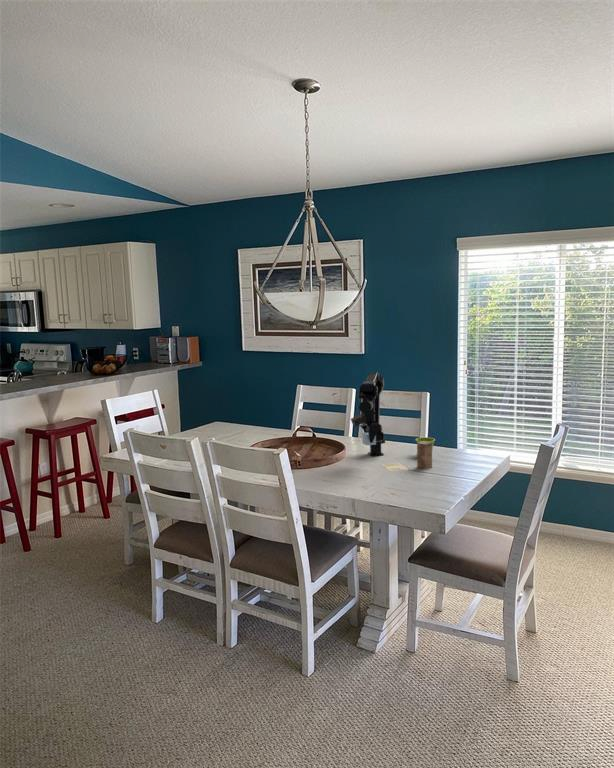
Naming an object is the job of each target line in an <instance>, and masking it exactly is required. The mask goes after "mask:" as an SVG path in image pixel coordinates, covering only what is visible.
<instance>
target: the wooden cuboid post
mask: <svg viewBox="0 0 614 768" xmlns="http://www.w3.org/2000/svg"><path fill="white" fill-rule="evenodd" d="M416 450H417V451H416V456H417V457H416V460H417V461H416V467H417V468H418V469H422V470H428V469H432V468H433V450H432V443H431V442H426V441H422V442H418V443H417V442H416Z"/></svg>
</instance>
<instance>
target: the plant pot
mask: <svg viewBox="0 0 614 768" xmlns="http://www.w3.org/2000/svg"><path fill="white" fill-rule="evenodd" d="M435 440H436V439H435V438H432V437H426V436H425V437H418V438H415V441H416V444H417V443H418V442H422V441H426V442H431V443H432V451H433V448H434V443H435Z"/></svg>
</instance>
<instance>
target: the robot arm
mask: <svg viewBox="0 0 614 768" xmlns="http://www.w3.org/2000/svg"><path fill="white" fill-rule="evenodd" d="M384 379H385V378H384V377H383V376H382V375H380V373H379V372H374V371H371V372H368V374H367V377H366V381H363V382H362V383H361V385H360V386H359V396H358V399H361V402H360V404H359V406H358V409H359V411H360V414H358V415H356V416H354V417H352V418H350V421H351V424H352V425H353V426H354V427H360V428H361V429H362V431H363V433H367V432H368V434H369V440H370V443H372V442H373V440H374V438H375V436H376V445H369V451H368V452H367V453H369V455H370V456H371V457H375V456H376V457H377V455H378V456H384V455H385V453H383V452H382V444H383V445H384V444H385V443H386V436H385V433H384V431H383V427H382V424H381V423H380V414H381V413H380V409H381V408H380V407H381V405H380V400H381V398H380V397H381V394H382V393H383V391H384V387H385V380H384Z"/></svg>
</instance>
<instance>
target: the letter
mask: <svg viewBox="0 0 614 768" xmlns="http://www.w3.org/2000/svg"><path fill="white" fill-rule="evenodd" d="M396 463H397V464H398V466H397V465H396ZM387 464H388V465H387ZM395 465H396V466H394V463H385V465H384V464H381V467H382V466H383V467H384V468H385V469H386V470H388V471H389V472H399V471H408V470H409V469H408V468H407V467H405V466H404V465H403V464H401V463H399V462H395ZM399 465H400V466H399Z"/></svg>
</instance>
